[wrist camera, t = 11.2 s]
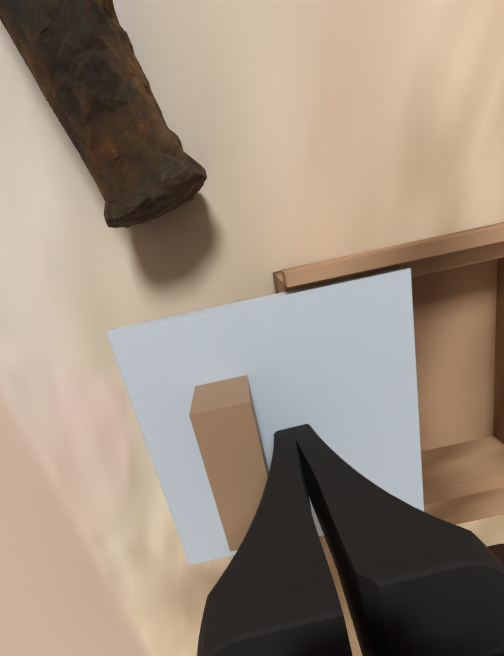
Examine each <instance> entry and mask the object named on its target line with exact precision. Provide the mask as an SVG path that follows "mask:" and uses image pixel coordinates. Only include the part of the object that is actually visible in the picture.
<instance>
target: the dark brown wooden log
mask: <svg viewBox="0 0 504 656" xmlns="http://www.w3.org/2000/svg"><path fill="white" fill-rule="evenodd" d="M0 20H1V21H2V23H3V25H4V26H5V28H6V29H7V31H8V33H9V35H10V36H11V38H12V40H13V42H14V43H15V45H16V47H17V49H18V51H19V52H20V54H21V56H22V57H23V59H24V61H25V62H26V64H27V66H28V67H29V69H30V71H31V72H32V74H33V76H34V78H35V80H36V82H37V83H38V85H39V87H40V89H41V91H42V93H43V94H44V96H45V98H46V99H47V101H48V103H49V104H50V106H51V108H52V109H53V111H54V113H55V114H56V116H57V118H58V119H59V121H60V122H61V124H62V126H63V127H64V129H65V131H66V132H67V134H68V136H69V137H70V139H71V141H72V142H73V144H74V146H75V147H76V149H77V150H78V152H79V154H80V156H81V157H82V159H83V161H84V163H85V164H86V166H87V168H88V170H89V171H90V173H91V175H92V176H93V178H94V180H95V182H96V184H97V186H98V188H99V190H100V192H101V194H102V196H103V198H104V200H105V209H104V217H105V221H106V224H107V225H108V227H113V228H118V227H126V228H128V227H130V226H133V225H136V224H140V223H144V222H146V221H148V220H151V219H153V218H156V217H158V216H160V215H162V214H164V213H166V212H168V211H170V210H173V209H175V208H177V207H178V206H180V205H182V204H183V203H185V202H187V201H189V200H191V199H193V197H194V194H195V193H197V192H198V191H199V190H200V189H201V187H202V186H203V185H204V182H205V180H206V179H207V175H206V171H205V169H204V168H203V167H202V166H201V165H200V164H199V163H197V162H196V161H195V160H194V159H192V158H191V157H190V156H189V155H187V154H186V153H185V152H184V151H183V148H182V144H181V141H180V139H179V137H178V136H177V135H176V134H175V133H174V132H172V131H171V130H170V129H169V128H168V127H167V125H166V123H165V120H164V118H163V116H162V112H161V110H160V108H159V106H158V104H157V102H156V100H155V98H154V96H153V94H152V92H151V89H150V85H149V81H148V80H147V78H146V76H145V74H144V72H143V70H142V68H141V66H140V64H139V62H138V60H137V59H136V57H135V55H134V51H133V47H132V44H131V42H130V39H129V37H128V35H127V33H126V31H124V30H123V28H122V27H121V26H120V24H119V22H118V19H117V16H116V13H115V10H114V5H113V1H112V0H0Z"/></svg>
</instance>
